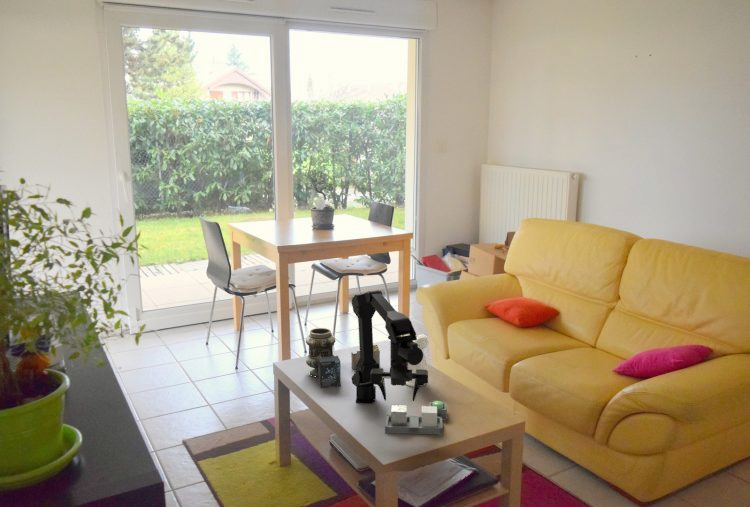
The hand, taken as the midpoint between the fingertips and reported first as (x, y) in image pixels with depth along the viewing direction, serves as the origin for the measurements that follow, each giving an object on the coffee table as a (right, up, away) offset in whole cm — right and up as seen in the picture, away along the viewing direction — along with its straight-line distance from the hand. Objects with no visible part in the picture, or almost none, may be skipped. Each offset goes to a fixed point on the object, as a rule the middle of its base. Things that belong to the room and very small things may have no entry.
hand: (399, 400), depth 215 cm
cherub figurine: (+6, -2, +38) cm, 39 cm away
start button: (+14, -7, +10) cm, 18 cm away
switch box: (+14, -7, +10) cm, 19 cm away
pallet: (+5, -9, +2) cm, 11 cm away
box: (-25, -2, +37) cm, 45 cm away
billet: (0, -9, +2) cm, 9 cm away
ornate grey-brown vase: (-30, 0, +49) cm, 57 cm away
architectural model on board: (-12, +1, +54) cm, 56 cm away
